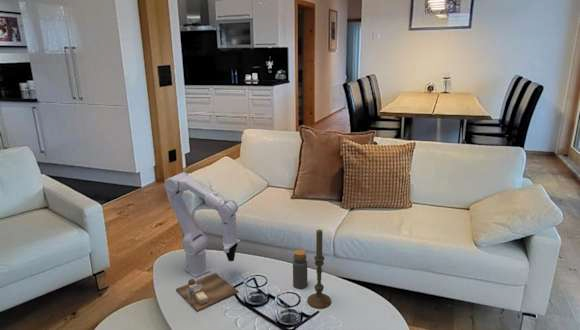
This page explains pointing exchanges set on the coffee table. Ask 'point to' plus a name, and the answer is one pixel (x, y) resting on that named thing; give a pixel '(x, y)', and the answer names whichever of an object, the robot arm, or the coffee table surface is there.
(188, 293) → the keeper
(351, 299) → the coffee table surface
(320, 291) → the candlestick holder
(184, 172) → the robot arm
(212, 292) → the board
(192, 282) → the link
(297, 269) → the bottle
